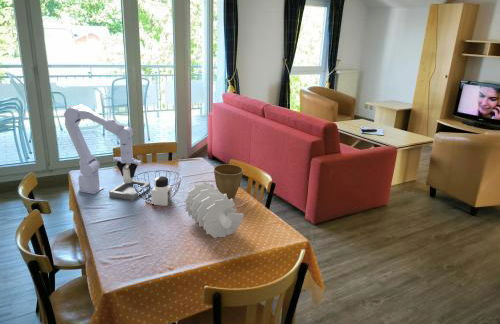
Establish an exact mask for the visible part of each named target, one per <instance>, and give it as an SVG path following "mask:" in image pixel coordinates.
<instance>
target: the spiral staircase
mask: <svg viewBox="0 0 500 324" xmlns="http://www.w3.org/2000/svg"><path fill="white" fill-rule="evenodd" d="M187 194H188V196H187V197H186V198H185V200H184V203H185V204H186V205H185V212H187V214H188V217H191V219H193V220H194V223H195V224H196V223H198V225H199V226H198V227H200V228H201V227H203V230H205V233H206V235H210V236H211V237H213V238H214V239H217V238H226V236H230V235H231V234H233V233H235V232H236V230H237V229H238V228H239V227H240V226H241V224H242V221H243V218H244V216H245V213H238V212H237V208H233V207H236V204H235V202H234V199H230V200H229V199H228V197H227V194H222V193H221V192H220V191H219V190H218V188H217V187H214V184H213V182H210V183H208V182H207V181H203V182H202V183H196V184H195V185H194V187H193V188H192V189H190V190H188V191H187Z"/></svg>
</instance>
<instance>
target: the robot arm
mask: <svg viewBox="0 0 500 324" xmlns="http://www.w3.org/2000/svg"><path fill="white" fill-rule="evenodd" d="M63 116H64V126H65V128H66V130H67V132H68V135H69V137H70V139H71V142H72V143H73V146H74V149H75V150H76V153H77V155H78V157H79V162H78V165H79V171H80V174H79V175H78V187H79V188H78V192H81V193H87V194H92V195H94V194H97V193H99V191H102V190H103V189H104V187H103V186H100V174H99V169H100V168H101V163H100V161H99V160H98V159H97V158H96V156H95V155H93V154H91V152H90V149H89V147H88V145H87V141H86V139H85V138H84V136H83V133H82V130H81V128H80V126H79V125H80V123H81V121H82V120H89V121H92V122H94V123H96V124H99V125H101V126H103V127H104V130H106V131H108V132H109V133H111V134H114V135H116V136H117V138H118V139H119V146H120V147H119V148H120V156H115V157H113V159H112V160H113V162H115V163H116V162H117V163H116V167H117V168H118V169H119V172H120V173H121V177H123V166H125V165H127V164H128V165H129V166H128V167H129V169H130V177H131V178H134V177H135V175H136V170H137V168H138V166H139V167H140V166H141V165H142V161H141V160H138V159H136V158H134V153H133V152H134V151H133V137H132V136H133V135H134V129H133V128H132V127H131V126H130V125H124V124H123V123H119V122H117V121H116V119H114V118H109V119H107V118H105V117H104V116H102V115H101V114H99V113H96V112H95V111H94V110H92V109H90V108H89V107H88V106H86V105H84V104H81V103H77V104H76V105H74V106H72V107H67V109H66V110H65V111H64V113H63Z"/></svg>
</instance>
